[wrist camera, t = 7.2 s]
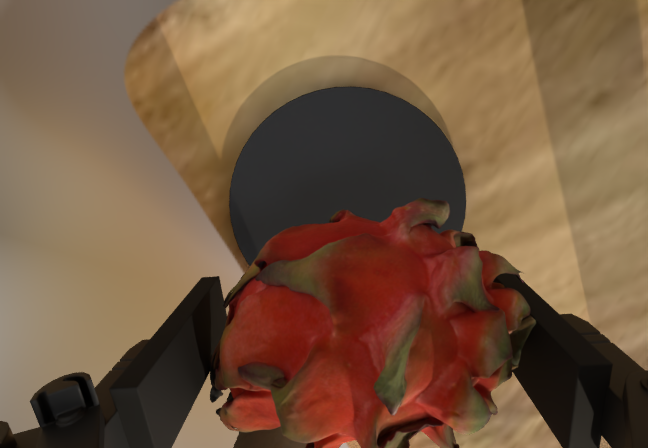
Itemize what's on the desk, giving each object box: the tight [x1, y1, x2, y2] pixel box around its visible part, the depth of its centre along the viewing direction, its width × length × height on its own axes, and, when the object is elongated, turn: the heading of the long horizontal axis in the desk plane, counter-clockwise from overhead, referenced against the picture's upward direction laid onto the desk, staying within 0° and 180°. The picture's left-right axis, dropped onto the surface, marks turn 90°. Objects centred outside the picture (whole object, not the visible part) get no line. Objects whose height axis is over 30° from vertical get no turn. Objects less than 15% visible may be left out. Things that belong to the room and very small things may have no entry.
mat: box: [229, 87, 466, 266], centre depth 28 cm, size 18×18×1 cm
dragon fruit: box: [210, 198, 536, 448], centre depth 13 cm, size 8×8×12 cm
